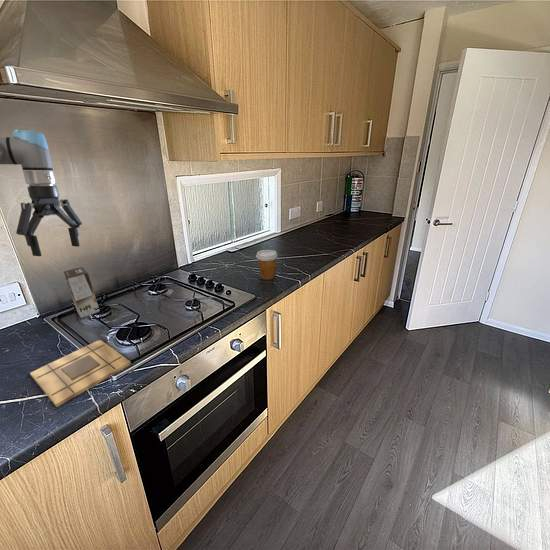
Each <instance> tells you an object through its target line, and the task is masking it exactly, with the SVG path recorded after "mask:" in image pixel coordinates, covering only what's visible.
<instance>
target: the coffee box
mask: <svg viewBox="0 0 550 550" xmlns="http://www.w3.org/2000/svg"><path fill="white" fill-rule="evenodd" d="M63 275H64V278H65V280H66V285H67V287H68V289H69V293H70V295H71V298H72V301H73V304H74V307H75V309H76V312H77V314H78V315H79V317H80V318H82V319H83V318H85V317H88V316H91V315H94V314H97V313H100V308H99V304H98V301H97V298H96V295H95V291H94V287H93V285H92V280H91V278H90V275H89V272H88V271H87V270H86V269H85V267H83V266H79V267H76V268H72V269H69V270H64V271H63ZM97 308H99V309H97ZM95 309H97V310H95Z"/></svg>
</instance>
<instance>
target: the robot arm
mask: <svg viewBox="0 0 550 550" xmlns="http://www.w3.org/2000/svg"><path fill="white" fill-rule="evenodd" d="M12 134H13V135H12V136H0V165H15V166H16V165H18V166H19V165H21V168H22V169H21V170H22V173H23V178H24V182H25V184H26V185H28V186H27V188H26V189H27V192H28V196H29V198H30V200H31V202H21V203H20V209H21V211H20V215H19V219H18V224H17V227H16V231H15V233H16V235H18V236H24V237H25V241H26V244H27V245H26V246H28V247H29V248H30V251H31V254H32V256H33V257H42V256H43V255H42V251H41V248H40V244H39V240H38V237H37V235H34V234H35V233H36V230H37V228H38V227H39V225H40V223H41V221H42V219H43V218H44V217H45V216H47V217H49V216H51V215H52V216H57V217H58V218H59V219H61V220H62V221H63V222H64V223H65V224H66V225H68V226H69V227H67V230H68V234H69V238H70V243H71V247H77V248H79V247H81V245H80V241H79V236H80V234H79V228H80V227H81V226H82V225H83V222H82V221H81V219H80V217H79V216H78V214H77V213H76V211H75V210H74V209H73V208H72V206H71V204H70V201H69V199H67V198H66V199H64V198H61V199H59V197H60V195H59V189H58V186H57V185H55V184H57V181H56V176H55V172H54V168H53V167H54V166H53V163H52V159H51V154H50V148H49V146H48V142H47V138H46V135H45V134H44V133H42V132H41V131H38V130H29V129H14V130H13V131H12ZM32 210H33V212H32Z"/></svg>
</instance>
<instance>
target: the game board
mask: <svg viewBox="0 0 550 550" xmlns="http://www.w3.org/2000/svg"><path fill="white" fill-rule="evenodd" d="M130 365H132V362H131V360H129V359H128V358H126V357H125V356H123V354H121V353H119V352H118V351H117V350H115V349H114V348H112V346H109V344H108V343H106V342H104V341H103V340H101V339H98V340H96V341H94V342H91V343H90V344H87V345H85V346H83V347H81V348H79V349H77V350H74V351H73V352H70V353H69V354H66V355H64V356H62V357H60V358H58V359H56V360H54V361H52V362H49V363H48V364H45V365H44V366H41V367H39V368H37V369H35V370H33V371H31V372H29V375H30V376H31V378H32V379H33V380H34V382H35V383H36V384H37V385H38V387H40V389H41V390H42V391H43V392H44V394H45V395H46V396H47V397H48V398H49V400H50V401H51V402H52V403H53V405H54V406H55V407H56V408H58V407H60V406H61V405H63V404H65V403H67V402H69V401H70V400H71V399H74V398H75V397H77V396H78V395H80V394H82V393H84V392H85V391H87V390H89V389H91V388H93V387H94V386H96V385H97V384H100V383H101V382H103V381H104V380H106V379H108V378H110V377H111V376H113V375H115V374H117V373H119V372H120V371H122V370H124V369H125V368H127V367H129V366H130Z"/></svg>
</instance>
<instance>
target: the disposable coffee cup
mask: <svg viewBox="0 0 550 550" xmlns="http://www.w3.org/2000/svg"><path fill="white" fill-rule="evenodd" d="M278 256H279V255H278V253H277V251H276V250H272V249H262V250H259V251H257V252H256V255H255V258H256V259H257V264H258V270H259V276H260V278H261V279H262V280H272V279H274V278H275V276H276V268H277V258H278Z"/></svg>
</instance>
